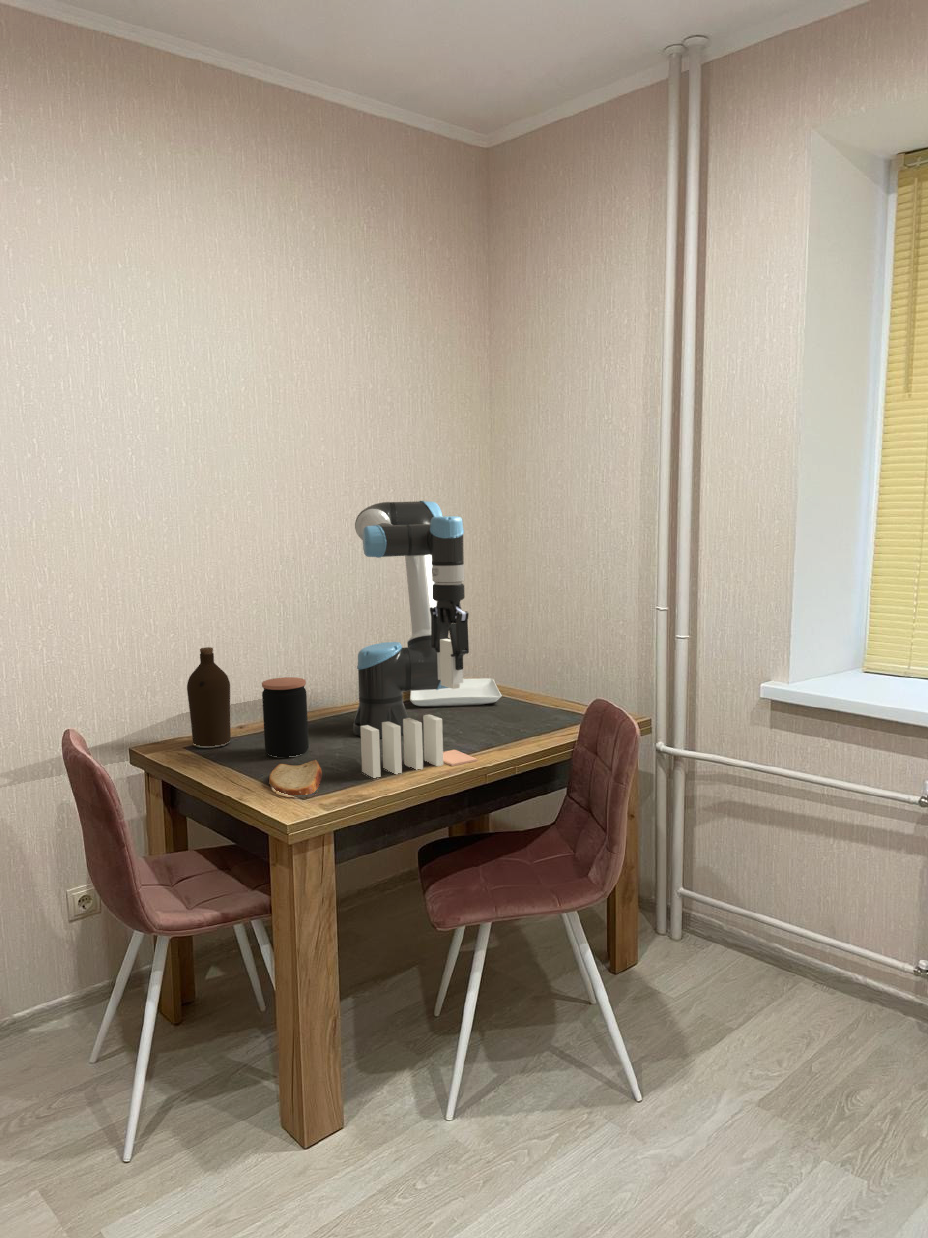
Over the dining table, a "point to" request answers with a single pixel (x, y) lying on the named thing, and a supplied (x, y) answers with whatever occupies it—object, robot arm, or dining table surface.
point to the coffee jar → (285, 716)
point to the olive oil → (209, 702)
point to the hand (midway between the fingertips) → (450, 680)
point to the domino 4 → (433, 740)
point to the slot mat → (456, 758)
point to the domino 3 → (413, 743)
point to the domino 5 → (446, 664)
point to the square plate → (459, 694)
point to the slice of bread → (296, 778)
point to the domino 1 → (370, 751)
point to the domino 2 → (391, 747)
